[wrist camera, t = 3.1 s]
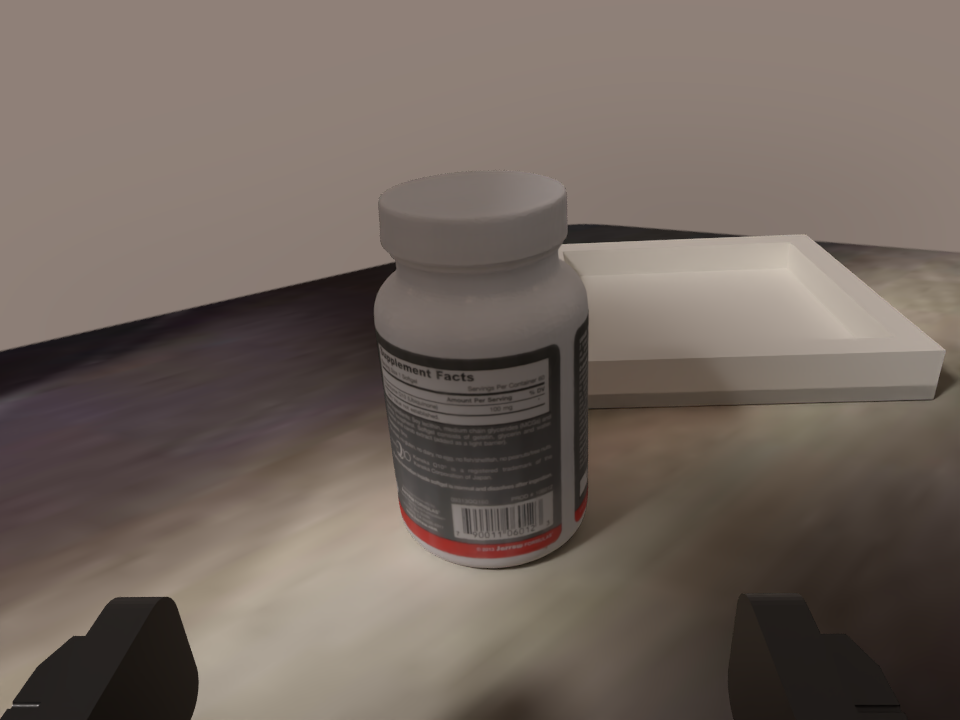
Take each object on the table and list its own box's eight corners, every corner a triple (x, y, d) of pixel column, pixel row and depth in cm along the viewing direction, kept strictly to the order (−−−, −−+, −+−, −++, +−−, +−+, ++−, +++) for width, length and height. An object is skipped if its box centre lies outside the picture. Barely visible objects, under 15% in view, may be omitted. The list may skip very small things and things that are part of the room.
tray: (550, 409, 28) (549, 362, 27) (539, 280, 40) (539, 245, 39) (933, 399, 27) (945, 350, 26) (800, 270, 39) (805, 234, 38)
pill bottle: (478, 441, 26) (458, 158, 22) (621, 494, 23) (632, 175, 18) (362, 528, 22) (308, 204, 18) (515, 608, 19) (497, 236, 14)
